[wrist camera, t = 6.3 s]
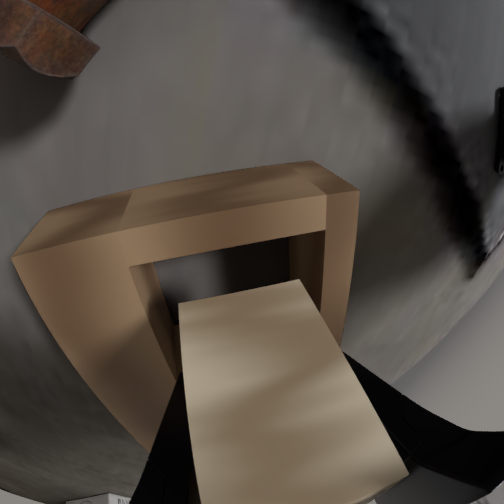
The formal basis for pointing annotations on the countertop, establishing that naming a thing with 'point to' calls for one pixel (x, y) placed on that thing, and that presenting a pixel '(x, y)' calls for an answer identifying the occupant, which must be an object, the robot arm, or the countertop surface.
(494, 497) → the robot arm
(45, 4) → the bolt
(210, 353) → the peg
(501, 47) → the countertop surface
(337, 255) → the block
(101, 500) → the cereal box
